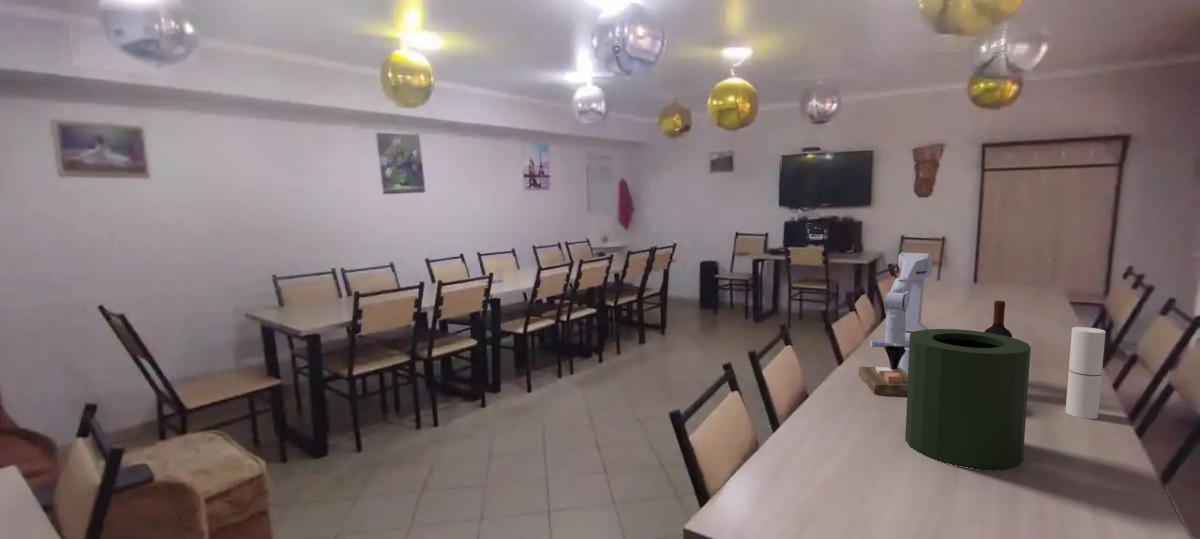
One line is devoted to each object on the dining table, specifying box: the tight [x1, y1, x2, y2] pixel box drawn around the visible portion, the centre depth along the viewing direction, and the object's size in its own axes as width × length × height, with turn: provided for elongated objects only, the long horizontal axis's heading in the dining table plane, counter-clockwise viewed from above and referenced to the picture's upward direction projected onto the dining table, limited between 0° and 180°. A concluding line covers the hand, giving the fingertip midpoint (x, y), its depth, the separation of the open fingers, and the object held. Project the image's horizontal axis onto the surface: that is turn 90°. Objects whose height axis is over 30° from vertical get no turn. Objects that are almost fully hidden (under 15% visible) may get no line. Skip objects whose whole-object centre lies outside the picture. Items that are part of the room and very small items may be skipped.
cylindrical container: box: [1065, 326, 1106, 420], centre depth 159 cm, size 7×7×25 cm
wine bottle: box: [983, 300, 1013, 338], centre depth 178 cm, size 8×8×30 cm
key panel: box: [857, 366, 908, 396], centre depth 188 cm, size 14×20×3 cm
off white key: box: [874, 366, 893, 374], centre depth 193 cm, size 4×4×3 cm
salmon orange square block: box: [884, 372, 903, 383], centre depth 183 cm, size 4×4×3 cm
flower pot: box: [904, 328, 1032, 472], centre depth 139 cm, size 25×25×28 cm
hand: (893, 368), depth 183 cm, fingers closed
